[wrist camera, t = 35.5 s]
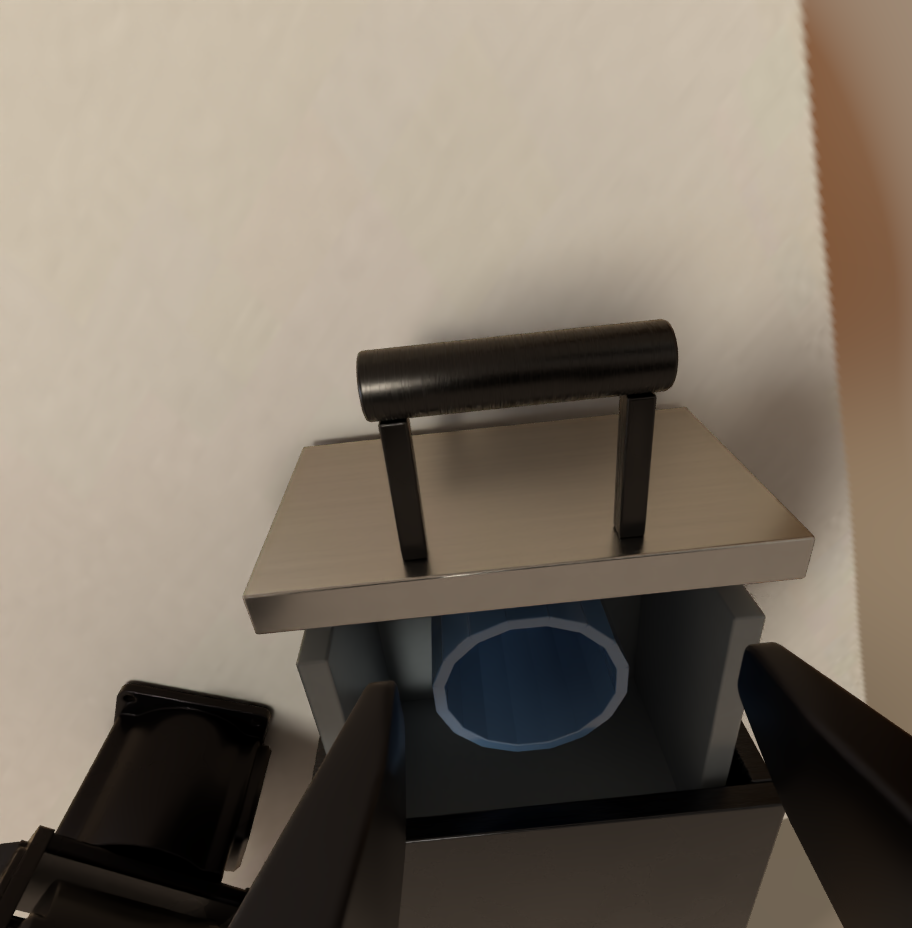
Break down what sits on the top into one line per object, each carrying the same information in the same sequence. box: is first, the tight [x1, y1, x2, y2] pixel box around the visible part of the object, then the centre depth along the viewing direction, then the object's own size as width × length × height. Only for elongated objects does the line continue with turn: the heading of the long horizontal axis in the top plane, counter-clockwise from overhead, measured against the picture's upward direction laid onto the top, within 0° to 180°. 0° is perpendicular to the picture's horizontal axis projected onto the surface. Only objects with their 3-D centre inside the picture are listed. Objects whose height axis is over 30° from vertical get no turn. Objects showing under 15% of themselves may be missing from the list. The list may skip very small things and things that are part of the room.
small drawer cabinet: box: [312, 720, 785, 928], centre depth 23 cm, size 13×14×9 cm
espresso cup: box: [431, 599, 629, 752], centre depth 18 cm, size 5×5×6 cm
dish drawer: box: [243, 319, 815, 818], centre depth 17 cm, size 17×13×7 cm
